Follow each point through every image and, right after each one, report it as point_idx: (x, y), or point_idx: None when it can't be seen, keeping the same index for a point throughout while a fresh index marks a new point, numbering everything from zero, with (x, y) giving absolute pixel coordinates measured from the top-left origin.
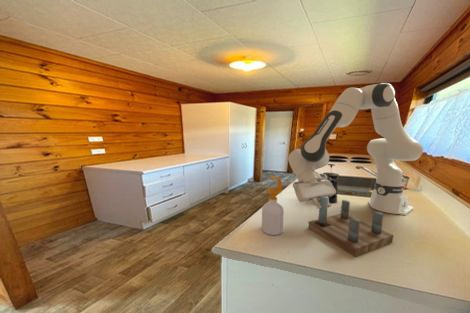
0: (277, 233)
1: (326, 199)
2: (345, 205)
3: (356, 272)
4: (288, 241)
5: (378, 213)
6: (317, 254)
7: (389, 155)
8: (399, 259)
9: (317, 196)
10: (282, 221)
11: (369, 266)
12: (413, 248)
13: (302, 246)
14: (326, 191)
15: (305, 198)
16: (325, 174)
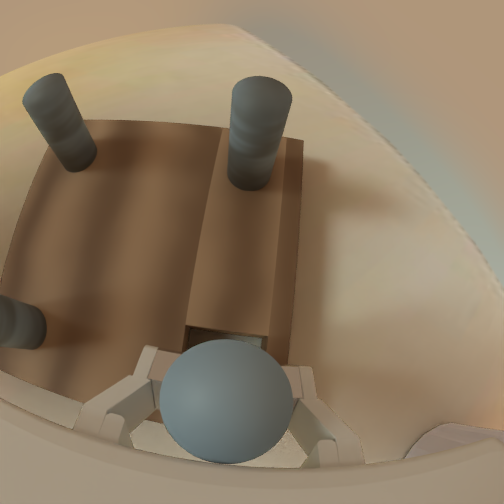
0: (452, 423)
1: (246, 344)
2: None
3: (363, 135)
4: (442, 366)
5: (43, 88)
6: (409, 245)
7: None
8: (178, 92)
9: (307, 469)
10: (460, 443)
11: (303, 121)
12: (74, 100)
13: (423, 311)
14: (38, 467)
15: (492, 437)
16: None
